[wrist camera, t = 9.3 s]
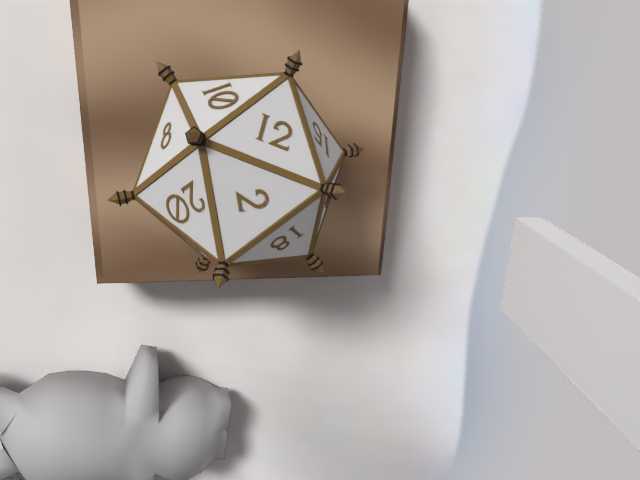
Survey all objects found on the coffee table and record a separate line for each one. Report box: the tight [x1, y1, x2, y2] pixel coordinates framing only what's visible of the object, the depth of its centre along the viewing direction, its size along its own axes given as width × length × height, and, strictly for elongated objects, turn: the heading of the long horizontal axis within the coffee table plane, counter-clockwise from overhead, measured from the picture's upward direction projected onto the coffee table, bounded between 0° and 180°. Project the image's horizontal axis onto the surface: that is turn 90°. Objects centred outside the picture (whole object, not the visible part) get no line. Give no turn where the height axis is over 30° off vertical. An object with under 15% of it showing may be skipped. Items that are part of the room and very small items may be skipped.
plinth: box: [70, 0, 409, 283], centre depth 28 cm, size 14×14×4 cm
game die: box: [108, 50, 365, 288], centre depth 22 cm, size 9×8×10 cm
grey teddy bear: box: [0, 345, 232, 480], centre depth 32 cm, size 10×5×15 cm
